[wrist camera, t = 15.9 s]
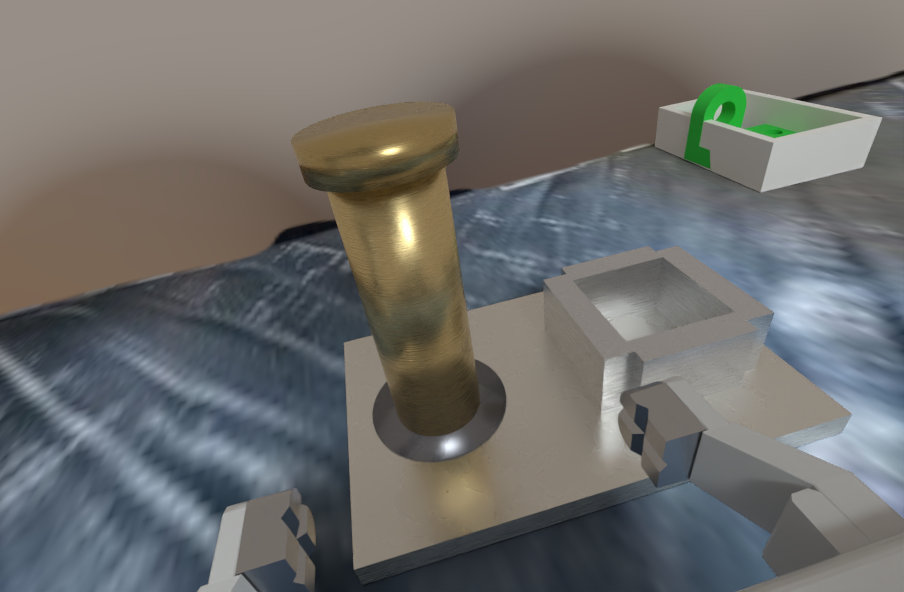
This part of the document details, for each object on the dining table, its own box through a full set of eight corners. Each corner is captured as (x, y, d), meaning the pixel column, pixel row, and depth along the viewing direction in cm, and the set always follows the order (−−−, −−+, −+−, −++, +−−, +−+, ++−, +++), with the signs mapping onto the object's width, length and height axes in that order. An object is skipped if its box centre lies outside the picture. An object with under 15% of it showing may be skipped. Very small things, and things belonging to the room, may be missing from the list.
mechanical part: (721, 173, 50) (738, 96, 45) (683, 158, 55) (695, 88, 50) (810, 151, 52) (835, 75, 47) (766, 138, 56) (785, 69, 52)
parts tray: (760, 192, 45) (773, 142, 42) (654, 146, 60) (659, 107, 57) (862, 167, 46) (882, 117, 44) (734, 128, 61) (743, 89, 58)
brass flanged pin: (391, 461, 23) (283, 164, 14) (380, 378, 29) (296, 121, 20) (507, 428, 24) (473, 124, 15) (475, 353, 29) (436, 94, 20)
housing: (362, 585, 20) (326, 521, 17) (349, 357, 33) (327, 298, 30) (841, 433, 23) (885, 354, 20) (655, 277, 36) (664, 215, 33)
